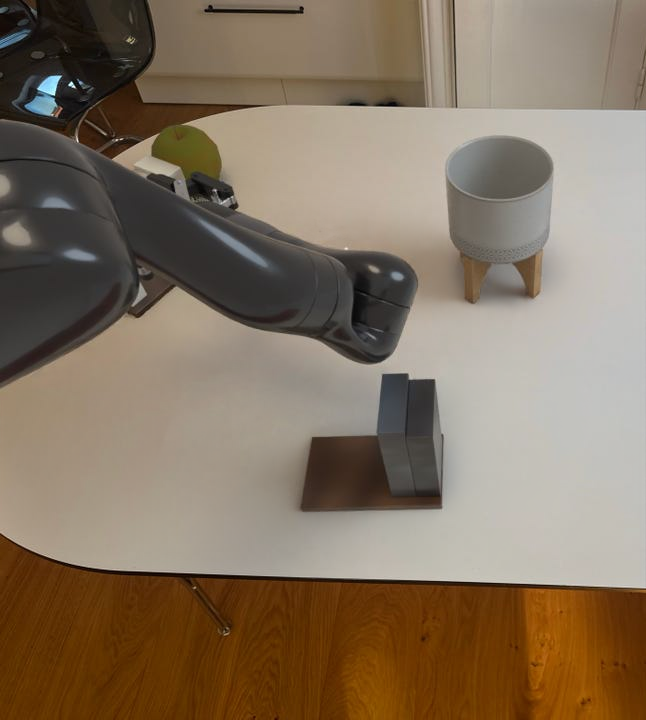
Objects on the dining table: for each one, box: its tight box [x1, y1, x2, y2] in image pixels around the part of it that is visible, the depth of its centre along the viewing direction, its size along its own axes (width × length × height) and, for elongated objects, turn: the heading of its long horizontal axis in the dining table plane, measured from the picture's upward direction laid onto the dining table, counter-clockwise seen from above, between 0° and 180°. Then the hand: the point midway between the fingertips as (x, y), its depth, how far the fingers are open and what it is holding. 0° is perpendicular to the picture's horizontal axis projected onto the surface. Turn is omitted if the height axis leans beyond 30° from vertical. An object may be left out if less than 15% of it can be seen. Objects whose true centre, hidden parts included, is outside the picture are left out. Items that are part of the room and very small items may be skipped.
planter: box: [444, 134, 555, 304], centre depth 91 cm, size 13×13×18 cm
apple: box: [150, 124, 223, 198], centre depth 107 cm, size 10×10×11 cm
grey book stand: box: [299, 372, 445, 513], centre depth 73 cm, size 15×9×13 cm, turn 91°
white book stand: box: [126, 154, 195, 319], centre depth 94 cm, size 17×9×13 cm, turn 151°
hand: (121, 202), depth 76 cm, fingers open, 8 cm apart
